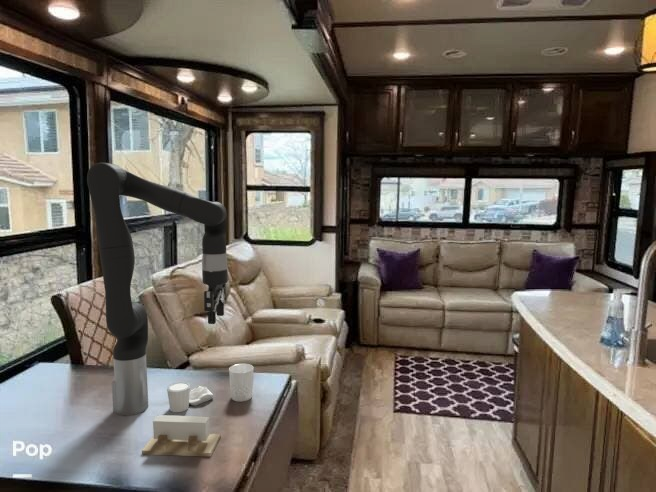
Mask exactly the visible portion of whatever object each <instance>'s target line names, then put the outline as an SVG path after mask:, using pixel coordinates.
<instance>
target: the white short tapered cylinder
mask: <svg viewBox="0 0 656 492" xmlns="http://www.w3.org/2000/svg"><path fill="white" fill-rule="evenodd" d="M166 391H167V398H168V404H169V410H170V411H171V412H173V413H183V412H185V411H187V410H188V409H189V407H190V406H189V405H190V404H189V395H190V391H191V384H190V383H188V382H184V381H180V382H175V383H172V384H170V385H168V386H167V388H166Z"/></svg>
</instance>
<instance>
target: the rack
mask: <svg viewBox="0 0 656 492" xmlns="http://www.w3.org/2000/svg"><path fill="white" fill-rule="evenodd" d="M221 438H222V435H221V433H210V435H209V437H208V438H207V440H206V441H197V436H189V437H188V440H168V439H167V435H160V434H159V436H158V439H154V435H153V436H151V438H150V440H149V441H148V442H147V443H146V445H145V446H143V448H142V450H141V454H142V455H158V456H159V455H161V456H181V457H182V456H183V457H188V456H189V457H211V456H212V455H213V453H214V451H215V449H216V447H217V446H218V444H219V442H220V439H221Z"/></svg>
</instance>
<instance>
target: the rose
mask: <svg viewBox="0 0 656 492" xmlns="http://www.w3.org/2000/svg"><path fill="white" fill-rule="evenodd" d="M213 397H214V394H213V393H212V392H211V391H210V389H208V388H207V386H200V385H196V387H195V388H193V389H190V395H189V405H191V406H192V407H194V406H198V405H200V404H203V403H205V402H207V401H209V400H212V399H213Z"/></svg>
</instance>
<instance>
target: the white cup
mask: <svg viewBox="0 0 656 492" xmlns="http://www.w3.org/2000/svg"><path fill="white" fill-rule="evenodd" d="M254 370H255V369H254V366H253V365H252V364H249V363H237V364H234V365H233V364H232V365H230V366H229V368H228V372H229V373H228V375H229V386H230V387H229V388H230V398H231V400H232V401H235V402H238V403H239V402H241V403H242V402H247V401H249V400H251V399H252V398H253V388H254V387H253V386H254Z"/></svg>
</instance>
